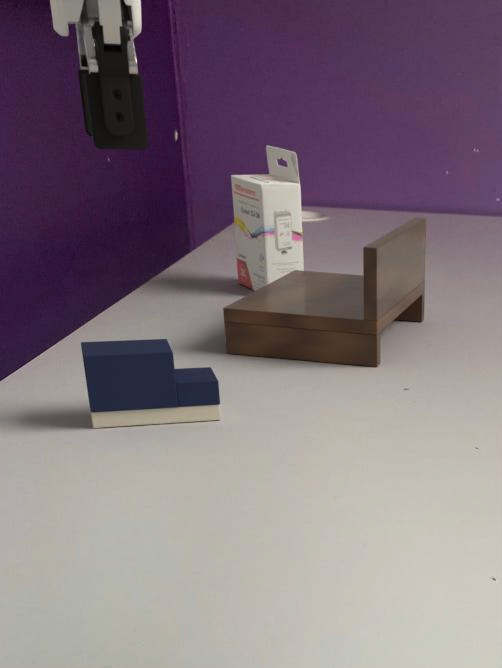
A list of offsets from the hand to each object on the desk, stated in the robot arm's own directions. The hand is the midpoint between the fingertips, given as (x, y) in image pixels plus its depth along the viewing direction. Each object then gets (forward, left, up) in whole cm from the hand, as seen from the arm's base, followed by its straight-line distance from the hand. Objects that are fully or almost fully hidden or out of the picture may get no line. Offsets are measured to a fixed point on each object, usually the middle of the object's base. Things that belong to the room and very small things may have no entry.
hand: (115, 142), depth 68 cm
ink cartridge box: (-8, +48, -19) cm, 52 cm away
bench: (+5, +29, -18) cm, 35 cm away
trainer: (0, 0, -18) cm, 18 cm away
